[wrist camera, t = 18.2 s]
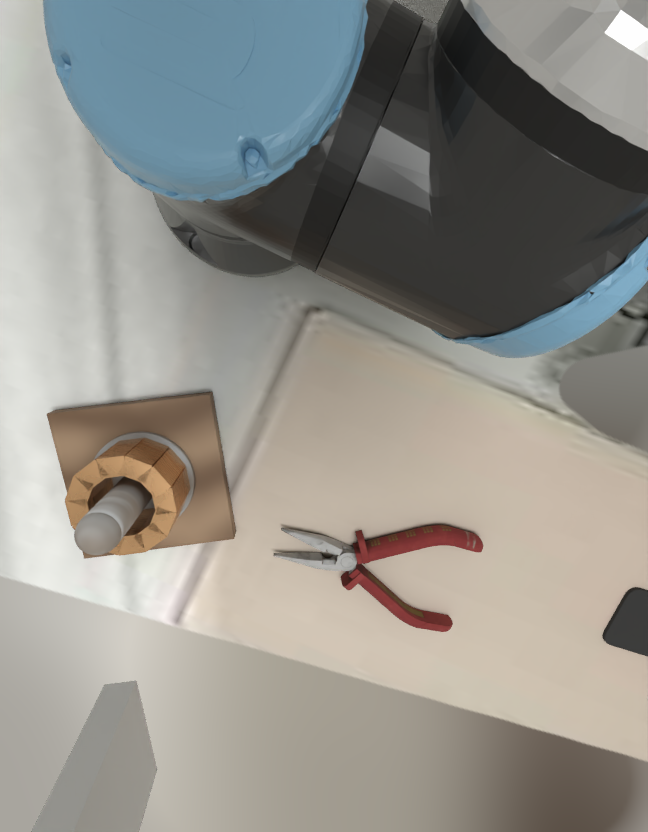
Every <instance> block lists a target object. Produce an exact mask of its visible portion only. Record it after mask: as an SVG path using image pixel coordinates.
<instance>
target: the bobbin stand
mask: <svg viewBox="0 0 648 832" xmlns="http://www.w3.org/2000/svg"><path fill="white" fill-rule="evenodd" d="M47 417H48V421H49V425H50V429H51V432H52V436H53V440H54V444H55V448H56V452H57V455H58V459H59V463H60V467H61V471H62V474H63V478H64V482H65V486H66V490H67V493H68V490H69V487H70V484H71V481H72V478H73V476H74V475H75V474H76V473H78V472H79V471H80V470H82V469H83V468H84V467H86V466H87V465H88V464H89V463H91V462H92V461H93V460H95V459H96V458H97V457H99V456H100V455H101V454H103V453H104V452H105V451H106V450H108V449H109V448H110V447H112V446H113V445H114V444H116V443H117V442H118V441H120V440H128V439H136V438H148V439H151V440H153V441H156V442H159V443H161V444H164V445H166V446H169V448H171V449H172V450H173V451H174V452H175V453H176V455H177V456H178V457H179V458H180V459H181V460H182V461H183V463H184V464H185V465H186V467H187V473H188V478H189V483H190V491H189V494H188V496H187V499H186V501H185V504H184V506H183V509H182V510H181V512H180V514H179V516H178V518H177V520H176V522H175V523H174V525H173V527H172V529H171V531H170V533H169V534H168V536H167V537H166V538H165V539H163V540H162V541H161V542H159V543H158V544H156V545H155V546H154V547H152V548H151V549H150V550H152V549H160V548H168V547H175V546H183V545H190V544H198V543H206V542H213V541H221V540H228V539H234V537H235V533H236V529H235V523H234V517H233V511H232V505H231V499H230V493H229V487H228V482H227V476H226V470H225V464H224V458H223V452H222V446H221V440H220V434H219V428H218V422H217V417H216V411H215V405H214V399H213V393H212V392H206V393H197V394H189V395H180V396H172V397H163V398H155V399H146V400H138V401H129V402H121V403H112V404H104V405H95V406H86V407H78V408H69V409H61V410H55V411H52V412H50V413H48V414H47ZM112 482H113V486H114V487H113V488H112V489H111V490H110V491H109V492H108V493H107V494H106V495H105V496H104V497H103V498H102V499H101V500H100V501H99V502H98V503H97V504H96V505H95V506H94V507H93V508H92V509H91V510H90V511H89V512H88V513H87V514H86V515H85V516H84V517H83V518H82V519H81V520H80V521H79V523H78V524H77V526H76V529H75V534H74V537H75V542H76V544H77V546H78V547H79V548H80V549H81V550H82V551H83V555H84V558H92V557H99V556H107V555H114V554H112V553H109V552H110V551H111V550H113V549H114V548H115V547H116V546H117V545H118V544H119V542H120V541H121V539H122V538H123V537H124V535H125V534H126V533H127V531H128V530H129V529H130V527H131V526H132V525H133V523H134V522H135V520H136V519H137V518H138V516H139V515H140V514H141V512H142V511H143V510H144V509H149V508H155V506H154V502H153V497H152V494H151V493H150V492H149V491H148V490H147V489H146V488H145V487H144V486H143V485H142V483H141V482H138V481H136V480H133V479H130V478H128V477H125V476H119V477H113V478H112Z"/></svg>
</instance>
